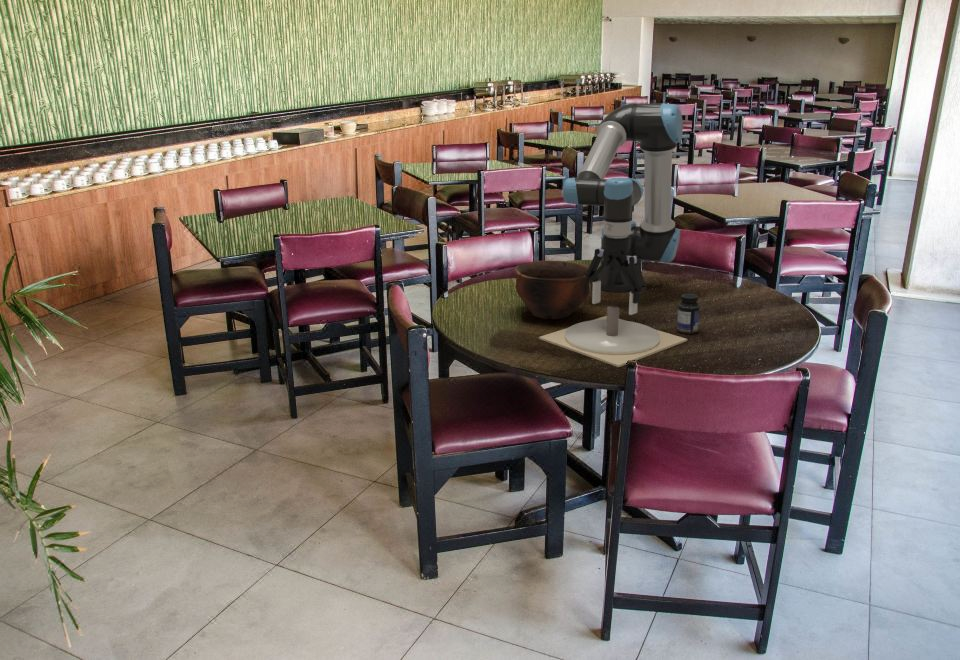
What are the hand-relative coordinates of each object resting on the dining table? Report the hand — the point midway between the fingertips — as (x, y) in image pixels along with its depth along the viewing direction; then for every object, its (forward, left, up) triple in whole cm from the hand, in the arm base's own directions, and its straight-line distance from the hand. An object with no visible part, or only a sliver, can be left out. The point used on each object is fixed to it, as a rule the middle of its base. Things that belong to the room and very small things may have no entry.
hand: (614, 308), depth 218 cm
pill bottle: (+10, +22, -10) cm, 26 cm away
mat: (0, 0, -9) cm, 10 cm away
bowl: (-29, +4, -10) cm, 31 cm away
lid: (0, -1, -9) cm, 9 cm away
